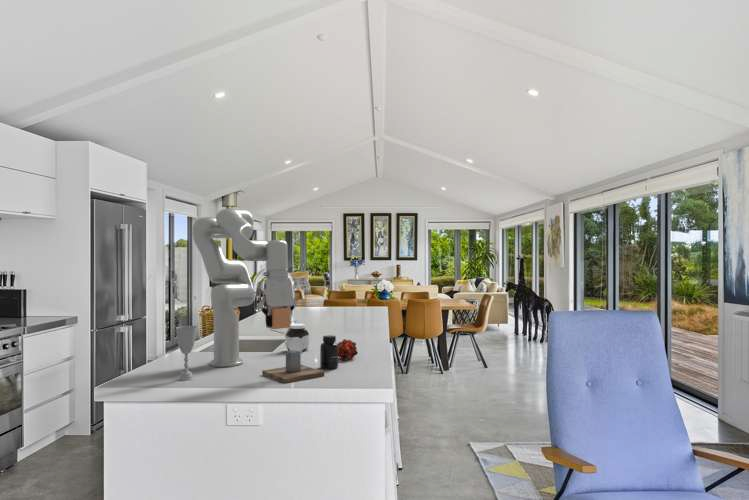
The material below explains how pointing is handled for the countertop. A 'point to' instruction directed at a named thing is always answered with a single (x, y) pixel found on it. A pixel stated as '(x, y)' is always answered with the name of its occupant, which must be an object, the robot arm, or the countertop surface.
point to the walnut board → (293, 374)
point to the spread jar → (297, 338)
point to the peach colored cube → (280, 318)
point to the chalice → (186, 347)
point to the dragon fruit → (346, 349)
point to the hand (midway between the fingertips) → (278, 325)
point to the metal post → (293, 361)
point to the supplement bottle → (329, 353)
